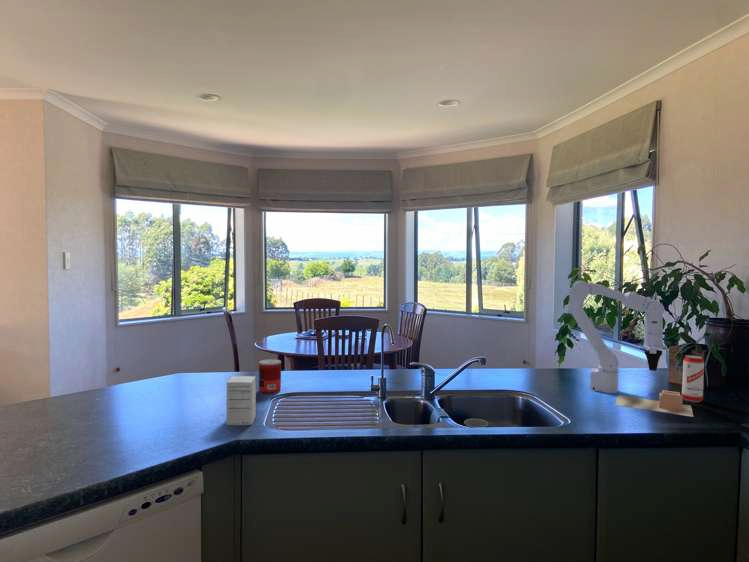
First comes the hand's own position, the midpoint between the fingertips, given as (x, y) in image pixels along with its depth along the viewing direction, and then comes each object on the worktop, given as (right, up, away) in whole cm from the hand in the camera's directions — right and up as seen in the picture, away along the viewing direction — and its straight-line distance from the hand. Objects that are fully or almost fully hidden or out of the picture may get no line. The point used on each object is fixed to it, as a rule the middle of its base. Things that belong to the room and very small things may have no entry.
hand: (652, 370), depth 170 cm
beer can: (+13, -11, -1) cm, 17 cm away
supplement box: (-141, -9, -32) cm, 145 cm away
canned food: (-140, -8, +1) cm, 140 cm away
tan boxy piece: (-3, -10, -15) cm, 18 cm away
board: (-7, -11, -12) cm, 18 cm away
